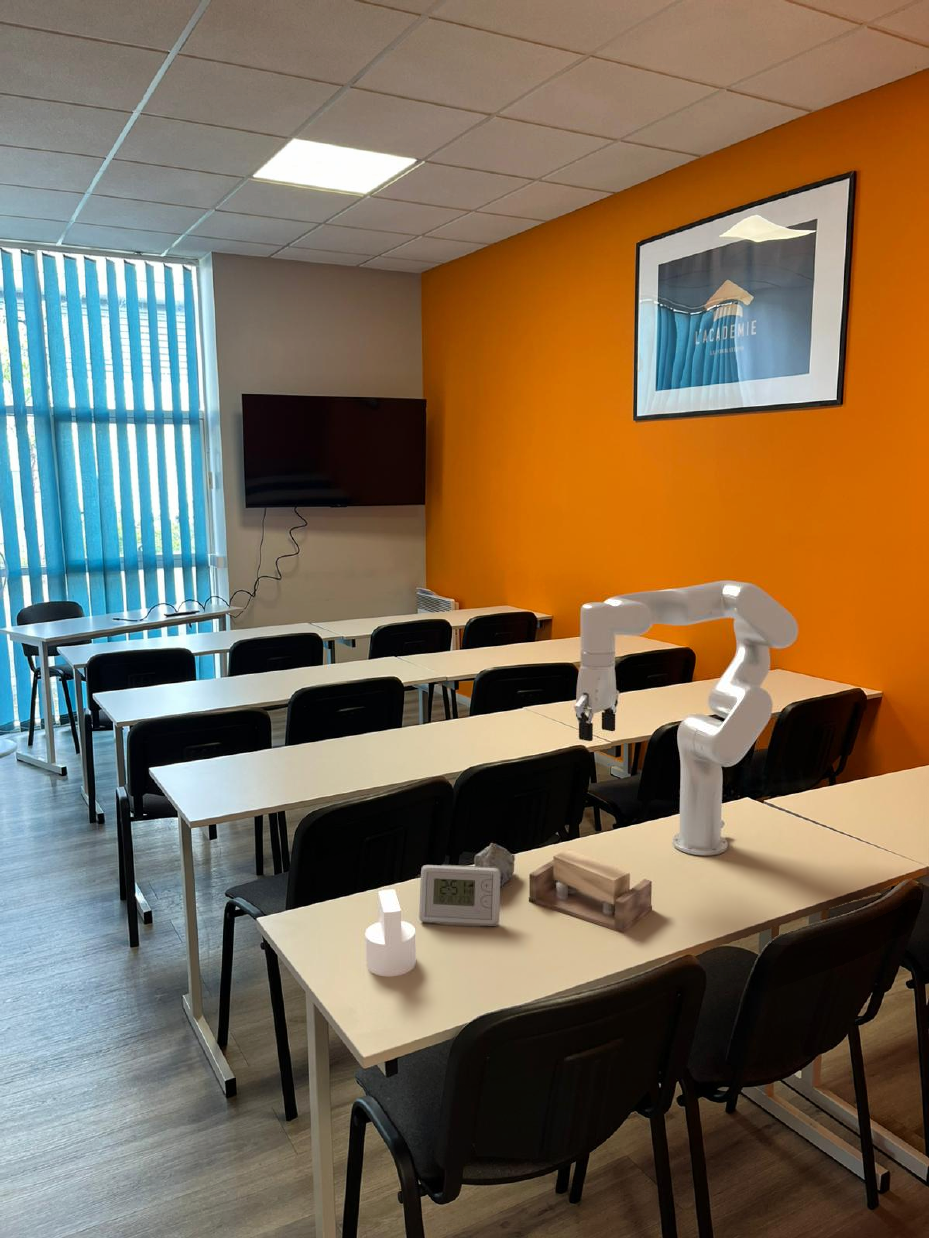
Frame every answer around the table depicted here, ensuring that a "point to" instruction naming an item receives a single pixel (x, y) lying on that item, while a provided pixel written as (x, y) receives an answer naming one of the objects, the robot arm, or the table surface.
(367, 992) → the table surface
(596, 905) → the peg cradle
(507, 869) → the mineral rock
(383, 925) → the base with upright slab
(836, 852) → the table surface
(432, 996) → the table surface
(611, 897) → the board
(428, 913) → the digital clock
